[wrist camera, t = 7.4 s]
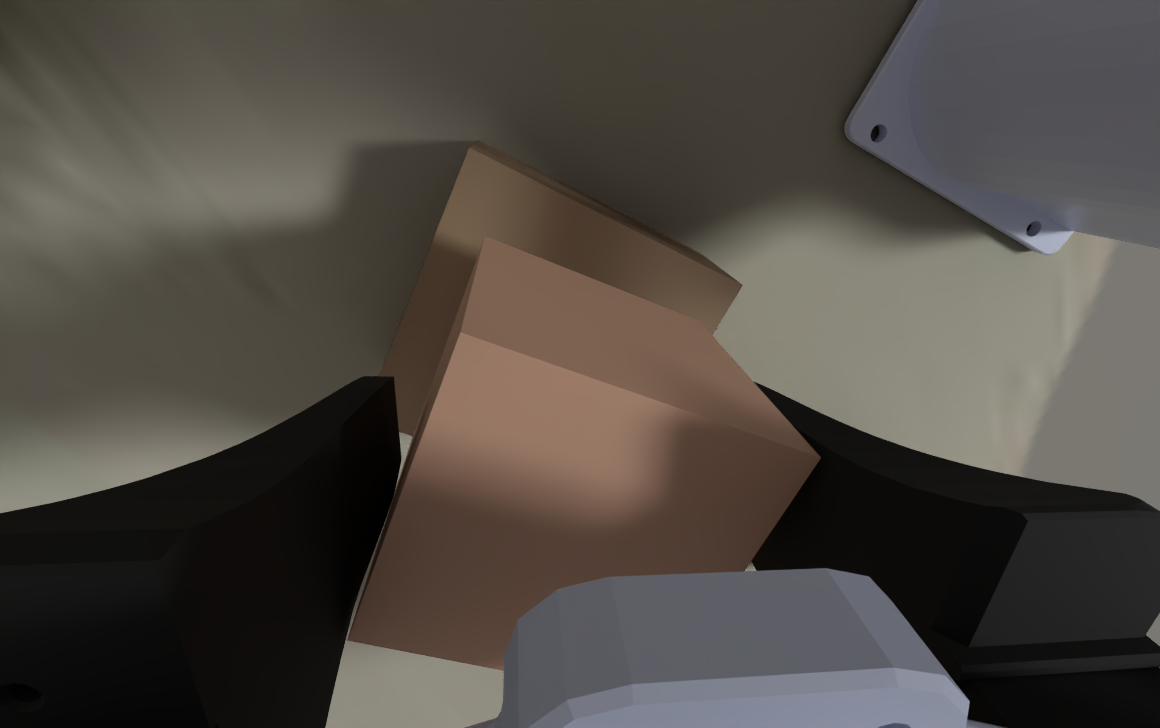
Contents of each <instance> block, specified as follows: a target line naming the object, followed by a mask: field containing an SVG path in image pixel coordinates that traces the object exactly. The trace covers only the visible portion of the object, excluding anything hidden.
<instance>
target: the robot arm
mask: <svg viewBox="0 0 1160 728" xmlns="http://www.w3.org/2000/svg"><path fill="white" fill-rule="evenodd" d="M876 125H877V126H878V127H879V135H878V137H877V138H876V139H875V140H874V141H872V140H871V135H870V134H871V131H872V129H873V128H874V127H875V126H876ZM845 134H846V137H847V138H848V139H849V140H850V141H851V142H852V143H854V144H856V145H857V146H859V147H861V148H862V149H864V150H866V151H867V152H869V153H871V154H872V155H874V156H876V157H877V158H879V159H881V160H882V161H884V162H886V163H887V164H889V165H891V166H892V167H894V168H896V169H897V170H899V171H901V172H902V173H904V174H906V175H907V176H909V177H911V178H912V179H914V180H916V181H917V182H919V183H921V184H922V185H924V186H926V187H927V188H929V189H931V190H932V191H934V192H936V193H937V194H939V195H941V196H942V197H944V198H946V199H947V200H949V201H951V202H952V203H954V204H956V205H957V206H959V207H961V208H962V209H964V210H966V211H967V212H969V213H971V214H972V215H974V216H976V217H977V218H979V219H981V220H982V221H984V222H986V223H987V224H989V225H991V226H992V227H994V228H996V229H997V230H999V231H1001V232H1002V233H1004V234H1006V235H1007V236H1009V237H1011V238H1012V239H1014V240H1016V241H1017V242H1019V243H1021V244H1022V245H1024V246H1026V247H1027V248H1029V249H1031V250H1032V251H1034V252H1037V253H1041V254H1044V255H1050V254H1053V253H1055V252H1057V251H1058V250H1059V249H1060V248H1061V247H1062V246H1063V245H1064V243H1065V242H1066V241H1067V240H1068V238H1069V237H1070V236H1071V235H1072V233H1073V232H1074V231H1076V232H1081V233H1086V234H1091V235H1095V236H1100V237H1105V238H1110V239H1115V240H1120V241H1125V242H1130V243H1135V244H1139V245H1144V246H1149V247H1154V248H1159V249H1160V0H917V2H916V4H915V5H914V7H913V9H912V10H911V12H910V14H909V15H908V17H907V19H906V21H905V22H904V24H903V26H902V27H901V29H900V31H899V32H898V34H897V36H896V37H895V39H894V41H893V42H892V44H891V46H890V47H889V49H888V51H887V53H886V54H885V56H884V58H883V59H882V61H881V63H880V64H879V66H878V68H877V69H876V71H875V73H874V74H873V76H872V78H871V79H870V81H869V83H868V84H867V86H866V88H865V90H864V91H863V93H862V95H861V96H860V98H859V100H858V101H857V103H856V105H855V106H854V108H853V110H852V111H851V113H850V115H849V116H848V118H847V121H846V123H845ZM1030 224H1031V228H1030V230H1029V231H1028V232H1027V233H1026V229H1027V227H1028V225H1030ZM754 383H755V384H756V385H757V386H758V388H759V389H760V390H761V391H762V392H763V393H764V394H765V395H766V396H767V398H768V399H769V400H770V401H771V402H772V403H773V404H774V405H775V407H776V408H777V409H778V410H779V411H780V412H781V413H782V414H783V416H784V417H785V418H786V419H787V420H788V421H789V422H790V423H791V424H792V426H793V427H794V428H795V429H796V430H797V431H798V432H799V433H800V435H801V436H802V437H803V438H804V439H805V440H806V441H807V442H808V444H809V445H810V446H811V447H812V448H813V449H814V450H815V451H816V452H817V454H818V455H819V456H820V457H821V459H820V460H819V462H818V463H817V465H816V466H815V468H814V469H813V470H812V472H811V473H810V475H809V476H808V478H807V479H806V481H805V482H804V484H803V485H802V487H801V488H800V490H799V491H798V493H797V494H796V496H795V497H794V498H793V500H792V501H791V503H790V504H789V506H788V507H787V509H786V510H785V512H784V513H783V515H782V516H781V518H780V519H779V521H778V522H777V524H776V525H775V527H774V528H773V529H772V531H771V532H770V534H769V535H768V537H767V538H766V540H765V541H764V543H763V544H762V546H761V547H760V549H759V550H758V552H757V553H756V555H755V556H754V558H753V559H752V560H751V561H752V563H753V565H754V567H755V568H756V570H757V571H742V572H717V573H692V574H666V575H641V576H616V577H605V578H601V579H597V580H592V581H588V582H584V583H580V584H576V585H572V586H567V587H563V588H560V589H557V590H556V591H555V592H553V593H552V594H551V595H549V596H548V597H547V598H545V599H544V600H543V601H541V602H540V603H539V604H538V605H536V606H535V607H534V608H532V609H531V610H530V611H528V612H527V613H526V614H524V615H523V616H522V617H521V618H519V619H518V621H517V624H516V626H515V629H514V632H513V634H512V637H511V640H510V642H509V645H508V647H507V650H506V653H505V655H504V690H503V704H502V709H501V712H500V714H499V715H498V717H497V718H495V719H492V720H489V721H485V722H482V723H479V724H475V725H472V726H469V727H466V728H1160V668H1159V667H1160V646H1158V645H1157V644H1156V643H1155V642H1153V641H1152V640H1151V639H1150V638H1149V637H1147V636H1146V633H1147V632H1148V630H1149V628H1150V627H1151V625H1152V624H1153V622H1154V621H1155V619H1156V618H1157V616H1158V614H1159V613H1160V511H1159V510H1157V509H1155V508H1154V507H1152V506H1150V505H1149V504H1147V503H1145V502H1144V501H1142V500H1140V499H1139V498H1136V497H1133V496H1131V495H1127V494H1123V493H1117V492H1111V491H1104V490H1097V489H1090V488H1084V487H1077V486H1070V485H1063V484H1057V483H1050V482H1044V481H1038V480H1034V479H1029V478H1024V477H1019V476H1014V475H1009V474H1004V473H999V472H994V471H990V470H986V469H982V468H977V467H973V466H969V465H965V464H961V463H958V462H954V461H951V460H947V459H943V458H940V457H936V456H932V455H929V454H926V453H922V452H919V451H916V450H913V449H910V448H907V447H904V446H901V445H898V444H895V443H892V442H890V441H887V440H884V439H881V438H878V437H875V436H873V435H870V434H868V433H865V432H863V431H860V430H858V429H856V428H853V427H851V426H849V425H846V424H844V423H842V422H839V421H837V420H835V419H832V418H830V417H828V416H826V415H824V414H821V413H819V412H817V411H815V410H813V409H811V408H809V407H807V406H805V405H803V404H800V403H798V402H796V401H794V400H792V399H790V398H788V397H786V396H784V395H782V394H780V393H778V392H776V391H774V390H772V389H769V388H767V387H765V386H763V385H760V384H758V383H756V382H754ZM400 464H401V449H400V438H399V427H398V416H397V404H396V393H395V382H394V376H364V377H361V378H359V379H357V380H355V381H353V382H351V383H349V384H348V385H346V386H344V387H343V388H341V389H339V390H338V391H336V392H334V393H333V394H331V395H329V396H328V397H326V398H324V399H323V400H321V401H319V402H318V403H316V404H314V405H312V406H311V407H309V408H307V409H306V410H304V411H302V412H301V413H299V414H297V415H295V416H293V417H291V418H289V419H288V420H286V421H284V422H282V423H280V424H278V425H276V426H274V427H273V428H271V429H269V430H267V431H265V432H263V433H261V434H259V435H257V436H255V437H253V438H251V439H249V440H246V441H244V442H242V443H240V444H238V445H235V446H233V447H231V448H228V449H226V450H223V451H221V452H219V453H216V454H214V455H211V456H209V457H206V458H204V459H201V460H198V461H195V462H192V463H189V464H186V465H184V466H181V467H178V468H175V469H172V470H169V471H166V472H163V473H160V474H157V475H154V476H152V477H149V478H145V479H142V480H139V481H135V482H132V483H128V484H125V485H121V486H118V487H114V488H111V489H107V490H103V491H99V492H95V493H91V494H87V495H83V496H79V497H76V498H71V499H67V500H63V501H58V502H54V503H50V504H45V505H40V506H35V507H30V508H25V509H20V510H15V511H10V512H5V513H0V728H325V726H326V722H327V717H328V712H329V708H330V703H331V699H332V695H333V690H334V686H335V682H336V677H337V673H338V669H339V664H340V660H341V656H342V652H343V648H344V644H345V640H346V636H347V632H348V628H349V624H350V620H351V616H352V612H353V608H354V605H355V602H356V599H357V596H358V593H359V590H360V586H361V584H362V581H363V578H364V576H365V573H366V570H367V568H368V565H369V563H370V560H371V557H372V555H373V552H374V549H375V547H376V544H377V541H378V539H379V536H380V533H381V531H382V528H383V525H384V522H385V520H386V517H387V514H388V512H389V509H390V506H391V503H392V500H393V497H394V493H395V488H396V484H397V479H398V474H399V469H400Z"/></svg>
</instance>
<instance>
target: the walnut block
mask: <svg viewBox="0 0 1160 728" xmlns="http://www.w3.org/2000/svg"><path fill="white" fill-rule="evenodd" d="M485 236H486V237H489V238H492V239H494V240H497V241H499V242H502V243H504V244H507V245H509V246H512V247H514V248H517V249H519V250H522V251H524V252H527V253H529V254H532V255H534V256H537V257H539V258H542V259H544V260H547V261H549V262H552V263H554V264H557V265H560V266H562V267H565V268H567V269H570V270H572V271H575V272H577V273H580V274H582V275H585V276H587V277H590V278H592V279H595V280H597V281H600V282H602V283H605V284H607V285H610V286H612V287H615V288H617V289H620V290H622V291H625V292H628V293H630V294H633V295H635V296H638V297H640V298H643V299H645V300H648V301H650V302H653V303H655V304H658V305H660V306H663V307H665V308H668V309H670V310H673V311H675V312H678V313H680V314H683V315H685V316H688V317H691V318H693V319H696V320H698V321H700V323H701V324H702V325H703V326H704V327H705V328H706V329H707V330H708V331H709V333H710V334H711V335H713V333H714V331H715V330H716V328H717V326H718V325H719V323H720V321H721V320H722V318H723V317H724V315H725V313H726V312H727V310H728V308H729V307H730V305H731V303H732V302H733V300H734V299H735V297H736V295H737V294H738V292H739V290H740V289H741V287H742V286H743V285H742V284H741V283H739V282H738V281H737V280H735V279H734V278H733V277H731V276H730V275H729V274H727V273H726V272H725V271H723V270H722V269H721V268H719V267H718V266H717V265H715V264H714V263H713V262H711V261H710V260H709V259H707V258H706V257H705V256H703V255H702V254H700V253H698V252H696V251H694V250H693V249H691V248H689V247H687V246H685V245H683V244H681V243H679V242H677V241H675V240H673V239H671V238H669V237H667V236H665V235H663V234H661V233H659V232H657V231H655V230H653V229H651V228H649V227H647V226H645V225H643V224H641V223H639V222H637V221H635V220H634V219H632V218H630V217H628V216H626V215H624V214H622V213H620V212H618V211H616V210H614V209H612V208H610V207H608V206H606V205H604V204H602V203H600V202H598V201H596V200H594V199H592V198H590V197H588V196H586V195H584V194H582V193H580V192H578V191H576V190H575V189H573V188H571V187H569V186H567V185H565V184H563V183H561V182H559V181H557V180H555V179H553V178H551V177H549V176H547V175H545V174H543V173H541V172H539V171H537V170H535V169H533V168H531V167H529V166H527V165H525V164H523V163H521V162H519V161H517V160H515V159H514V158H512V157H510V156H508V155H506V154H504V153H502V152H500V151H498V150H496V149H494V148H492V147H490V146H488V145H486V144H484V143H482V142H480V141H478V142H476V143H475V144H473V145H472V146H471V147H469V149H468V152H467V154H466V157H465V159H464V162H463V165H462V167H461V170H460V172H459V175H458V177H457V180H456V182H455V185H454V187H453V190H452V192H451V195H450V197H449V200H448V203H447V205H446V208H445V210H444V213H443V215H442V218H441V220H440V223H439V225H438V228H437V230H436V233H435V235H434V238H433V241H432V243H431V246H430V248H429V251H428V253H427V256H426V258H425V261H424V263H423V266H422V268H421V271H420V273H419V276H418V279H417V281H416V284H415V286H414V289H413V291H412V294H411V296H410V299H409V301H408V304H407V306H406V309H405V311H404V314H403V317H402V319H401V322H400V324H399V327H398V329H397V332H396V334H395V337H394V339H393V342H392V344H391V347H390V349H389V352H388V355H387V357H386V360H385V362H384V365H383V367H382V370H381V372H380V375H379V376H394V382H395V393H396V404H397V416H398V427H399V432H402V433H405V434H408V435H411V436H413V435H414V432H415V429H416V426H417V423H418V421H419V418H420V415H421V412H422V410H423V407H424V404H425V401H426V398H427V396H428V393H429V390H430V387H431V385H432V382H433V379H434V376H435V373H436V371H437V368H438V365H439V362H440V360H441V357H442V354H443V351H444V348H445V346H446V343H447V340H448V337H449V335H450V332H451V329H452V326H453V323H454V321H455V318H456V315H457V312H458V310H459V307H460V304H461V301H462V298H463V296H464V293H465V290H466V287H467V285H468V282H469V279H470V276H471V273H472V271H473V268H474V265H475V262H476V260H477V257H478V254H479V251H480V248H481V246H482V243H483V240H484V237H485Z"/></svg>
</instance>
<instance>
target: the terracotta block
mask: <svg viewBox="0 0 1160 728" xmlns="http://www.w3.org/2000/svg"><path fill="white" fill-rule="evenodd" d="M820 459H821V457H820V456H819V455H818V454H817V452H816V451H815V450H814V449H813V448H812V447H811V446H810V445H809V444H808V442H807V441H806V440H805V439H804V438H803V437H802V436H801V435H800V433H799V432H798V431H797V430H796V429H795V428H794V427H793V426H792V424H791V423H790V422H789V421H788V420H787V419H786V418H785V417H784V416H783V414H782V413H781V412H780V411H779V410H778V409H777V408H776V407H775V405H774V404H773V403H772V402H771V401H770V400H769V399H768V398H767V396H766V395H765V394H764V393H763V392H762V391H761V390H760V389H759V388H758V386H757V385H756V384H755V383H754V382H753V381H752V380H751V379H750V377H749V376H748V375H747V374H746V373H745V372H744V371H743V370H742V368H741V367H740V366H739V365H738V364H737V363H736V362H735V361H734V360H733V358H732V357H731V356H730V355H729V354H728V353H727V352H726V351H725V349H724V348H723V347H722V346H721V345H720V344H719V343H718V342H717V340H716V339H715V338H714V337H713V336H712V335H711V334H710V333H709V331H708V330H707V329H706V328H705V327H704V326H703V325H702V324H701V323H700V321H698V320H696V319H693V318H691V317H688V316H685V315H683V314H680V313H678V312H675V311H673V310H670V309H668V308H665V307H663V306H660V305H658V304H655V303H653V302H650V301H648V300H645V299H643V298H640V297H638V296H635V295H633V294H630V293H628V292H625V291H622V290H620V289H617V288H615V287H612V286H610V285H607V284H605V283H602V282H600V281H597V280H595V279H592V278H590V277H587V276H585V275H582V274H580V273H577V272H575V271H572V270H570V269H567V268H565V267H562V266H560V265H557V264H554V263H552V262H549V261H547V260H544V259H542V258H539V257H537V256H534V255H532V254H529V253H527V252H524V251H522V250H519V249H517V248H514V247H512V246H509V245H507V244H504V243H502V242H499V241H497V240H494V239H492V238H489V237H486V236H485V237H484V240H483V243H482V246H481V248H480V251H479V254H478V257H477V260H476V262H475V265H474V268H473V271H472V273H471V276H470V279H469V282H468V285H467V287H466V290H465V293H464V296H463V298H462V301H461V304H460V307H459V310H458V312H457V315H456V318H455V321H454V323H453V326H452V329H451V332H450V335H449V337H448V340H447V343H446V346H445V348H444V351H443V354H442V357H441V360H440V362H439V365H438V368H437V371H436V373H435V376H434V379H433V382H432V385H431V387H430V390H429V393H428V396H427V398H426V401H425V404H424V407H423V410H422V412H421V415H420V418H419V421H418V423H417V426H416V429H415V432H414V435H413V437H412V440H411V444H410V447H409V450H408V453H407V456H406V459H405V462H404V465H403V468H402V472H401V475H400V478H399V481H398V484H397V487H396V490H395V493H394V497H393V500H392V503H391V506H390V509H389V512H388V515H387V518H386V521H385V525H384V528H383V531H382V534H381V537H380V540H379V543H378V546H377V549H376V553H375V556H374V559H373V562H372V565H371V568H370V571H369V574H368V577H367V581H366V584H365V587H364V590H363V593H362V596H361V599H360V602H359V606H358V609H357V612H356V615H355V618H354V621H353V624H352V627H351V630H350V634H349V637H348V641H353V642H359V643H364V644H369V645H374V646H379V647H384V648H390V649H395V650H400V651H405V652H410V653H415V654H421V655H426V656H431V657H436V658H441V659H446V660H452V661H457V662H462V663H467V664H472V665H477V666H483V667H488V668H493V669H498V670H503V671H504V655H505V653H506V650H507V647H508V645H509V642H510V640H511V637H512V634H513V632H514V629H515V626H516V624H517V621H518V619H519V618H521V617H522V616H523V615H524V614H526V613H527V612H528V611H530V610H531V609H532V608H534V607H535V606H536V605H538V604H539V603H540V602H541V601H543V600H544V599H545V598H547V597H548V596H549V595H551V594H552V593H553V592H555V591H556V590H557V589H560V588H563V587H567V586H572V585H576V584H580V583H584V582H588V581H592V580H597V579H601V578H605V577H616V576H641V575H666V574H692V573H717V572H742V571H745V569H746V568H747V566H748V565H749V563H750V562H751V560H752V559H753V558H754V556H755V555H756V553H757V552H758V550H759V549H760V547H761V546H762V544H763V543H764V541H765V540H766V538H767V537H768V535H769V534H770V532H771V531H772V529H773V528H774V527H775V525H776V524H777V522H778V521H779V519H780V518H781V516H782V515H783V513H784V512H785V510H786V509H787V507H788V506H789V504H790V503H791V501H792V500H793V498H794V497H795V496H796V494H797V493H798V491H799V490H800V488H801V487H802V485H803V484H804V482H805V481H806V479H807V478H808V476H809V475H810V473H811V472H812V470H813V469H814V468H815V466H816V465H817V463H818V462H819V460H820Z"/></svg>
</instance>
